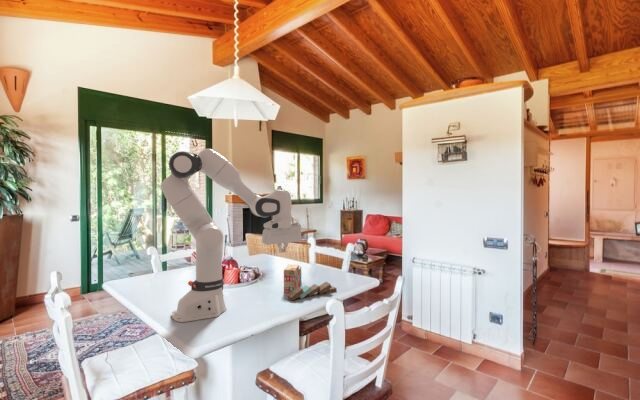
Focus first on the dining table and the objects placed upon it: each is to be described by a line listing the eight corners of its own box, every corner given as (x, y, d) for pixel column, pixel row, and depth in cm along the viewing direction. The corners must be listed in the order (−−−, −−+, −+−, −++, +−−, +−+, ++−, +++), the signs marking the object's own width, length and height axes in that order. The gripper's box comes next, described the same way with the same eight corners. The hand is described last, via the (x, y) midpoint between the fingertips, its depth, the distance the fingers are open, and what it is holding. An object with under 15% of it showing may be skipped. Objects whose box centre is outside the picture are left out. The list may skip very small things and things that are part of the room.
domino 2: (308, 293, 164) (319, 286, 167) (303, 291, 167) (314, 284, 171) (309, 297, 164) (320, 289, 168) (305, 294, 168) (315, 287, 172)
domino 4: (326, 290, 170) (336, 287, 174) (321, 288, 173) (331, 285, 177) (326, 294, 170) (336, 291, 174) (321, 292, 173) (331, 289, 177)
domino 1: (291, 297, 157) (302, 288, 161) (286, 295, 161) (297, 286, 165) (293, 301, 158) (303, 292, 162) (288, 298, 161) (299, 290, 165)
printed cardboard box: (291, 281, 193) (291, 260, 193) (301, 281, 192) (301, 261, 192) (283, 292, 172) (283, 269, 171) (295, 293, 171) (295, 269, 171)
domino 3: (319, 291, 167) (330, 283, 170) (315, 288, 171) (326, 281, 173) (320, 294, 167) (331, 287, 170) (316, 291, 171) (327, 284, 174)
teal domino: (300, 295, 160) (310, 287, 164) (295, 293, 164) (305, 285, 168) (301, 299, 161) (312, 290, 165) (296, 296, 164) (307, 288, 168)
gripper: (296, 221, 165) (297, 248, 165) (260, 224, 152) (260, 253, 153) (304, 222, 160) (304, 250, 160) (266, 225, 147) (267, 255, 148)
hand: (282, 252), depth 156 cm, fingers closed
